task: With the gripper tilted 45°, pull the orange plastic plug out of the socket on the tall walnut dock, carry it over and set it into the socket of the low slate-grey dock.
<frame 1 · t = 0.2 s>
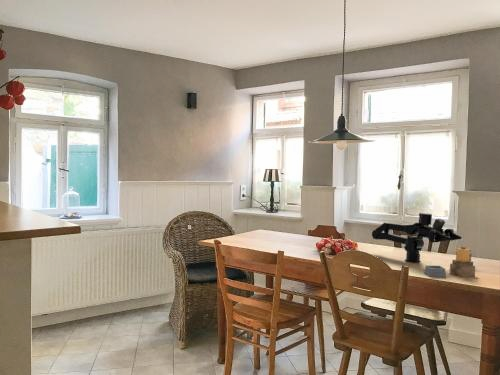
hand: (456, 238, 229), 17 cm above the table, tool horizontal, fingers open, 9 cm apart
lower dock: (434, 275, 217), on the table
plug: (462, 264, 219), point 5 cm above the table, touching upper dock
upper dock: (462, 274, 219), on the table
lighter: (463, 266, 240), on the table
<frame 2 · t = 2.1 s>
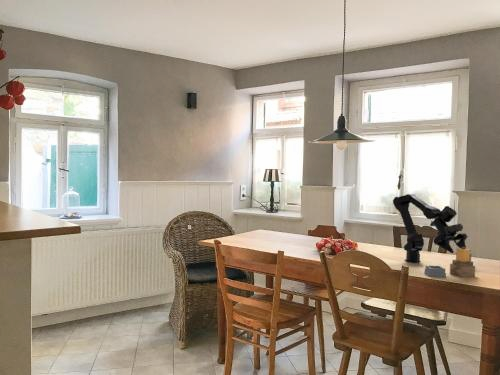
hand: (459, 252, 221), 11 cm above the table, tool tilted 45°, fingers open, 9 cm apart
nothing on the table moved.
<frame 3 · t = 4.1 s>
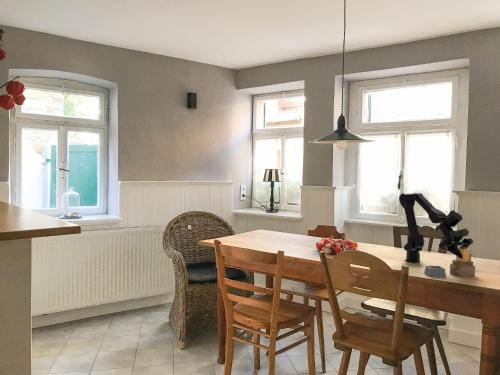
hand: (465, 257, 218), 9 cm above the table, tool tilted 45°, fingers closed on plug, 4 cm apart
plug: (462, 264, 219), point 5 cm above the table, touching gripper, upper dock
everything else where it was.
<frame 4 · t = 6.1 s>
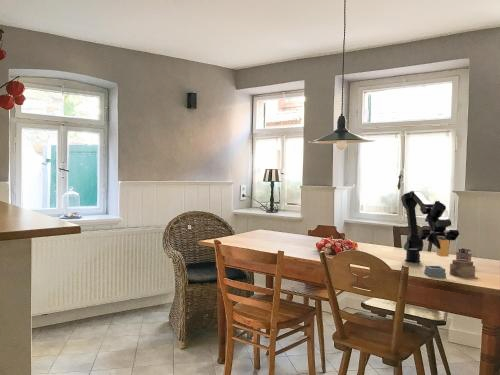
hand: (444, 248, 215), 14 cm above the table, tool tilted 45°, fingers closed on plug, 4 cm apart
plug: (442, 255, 216), point 10 cm above the table, touching gripper
everything else where it was.
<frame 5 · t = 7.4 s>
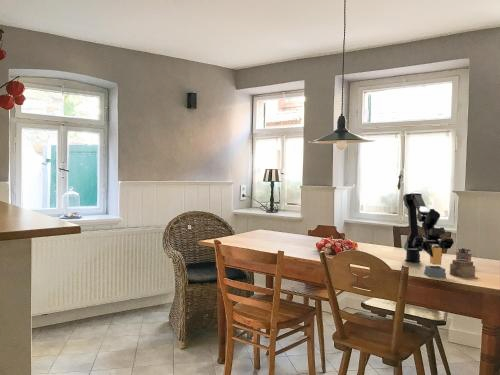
hand: (436, 256, 215), 9 cm above the table, tool tilted 45°, fingers closed on plug, 4 cm apart
plug: (435, 263, 216), point 6 cm above the table, touching gripper
everything else where it was.
when the fingers open (7 cm above the table, at t = 8.2 s): plug drops 1 cm, resting on lower dock.
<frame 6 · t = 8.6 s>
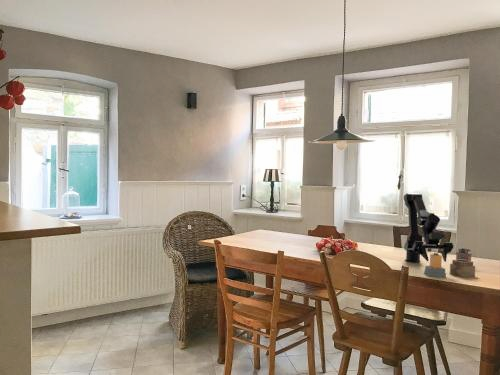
hand: (436, 261, 215), 7 cm above the table, tool tilted 45°, fingers open, 8 cm apart
plug: (435, 271, 216), point 2 cm above the table, touching lower dock
everything else where it was.
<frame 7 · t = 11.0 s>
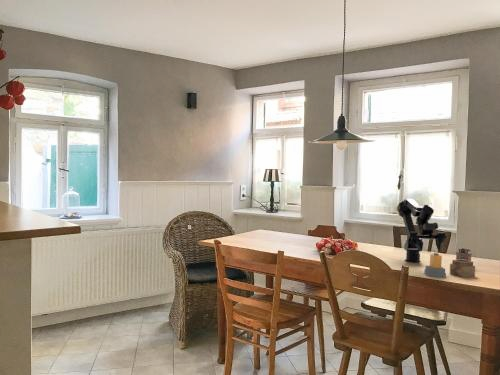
hand: (430, 250, 224), 11 cm above the table, tool tilted 45°, fingers open, 9 cm apart
nothing on the table moved.
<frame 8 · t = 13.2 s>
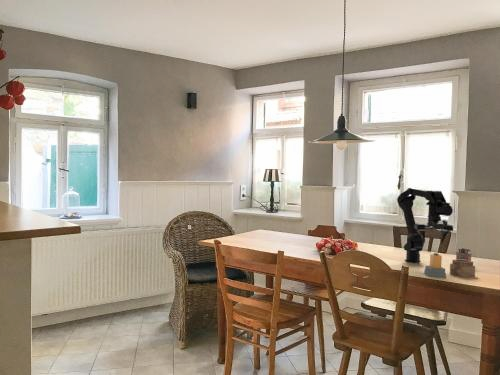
hand: (432, 243, 234), 13 cm above the table, tool pointing down, fingers open, 9 cm apart
nothing on the table moved.
at the end: plug 0.1 cm off-centre on the lower dock, point 2.0 cm above the lower dock's base; plug tilted 0°; the gripper is holding nothing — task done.
